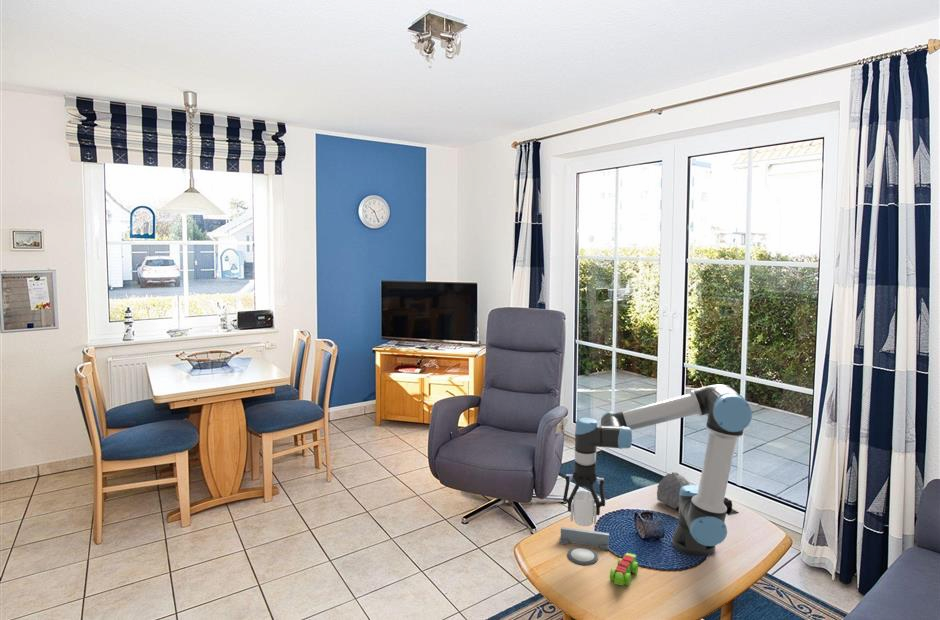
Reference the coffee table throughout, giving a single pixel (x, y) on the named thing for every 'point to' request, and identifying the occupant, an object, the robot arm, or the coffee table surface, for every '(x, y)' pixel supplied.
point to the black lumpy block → (729, 507)
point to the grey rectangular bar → (584, 537)
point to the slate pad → (582, 555)
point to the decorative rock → (671, 489)
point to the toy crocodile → (624, 569)
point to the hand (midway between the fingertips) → (583, 521)
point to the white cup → (583, 508)
